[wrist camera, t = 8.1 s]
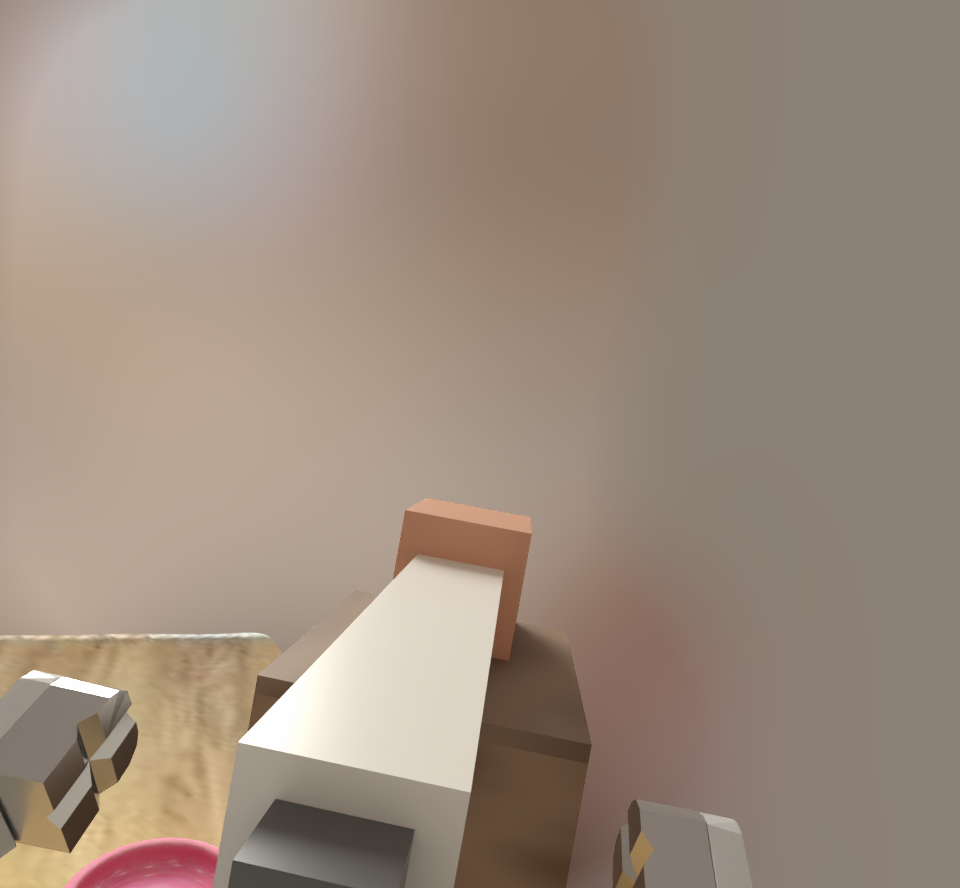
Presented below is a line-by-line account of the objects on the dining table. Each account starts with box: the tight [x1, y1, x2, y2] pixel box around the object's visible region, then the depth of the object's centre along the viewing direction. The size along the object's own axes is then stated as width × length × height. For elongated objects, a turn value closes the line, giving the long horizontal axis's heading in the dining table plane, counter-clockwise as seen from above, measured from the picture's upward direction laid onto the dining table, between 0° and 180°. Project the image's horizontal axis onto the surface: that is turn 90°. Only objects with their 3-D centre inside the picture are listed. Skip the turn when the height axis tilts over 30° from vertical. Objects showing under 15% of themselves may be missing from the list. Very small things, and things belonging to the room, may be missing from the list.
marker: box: [213, 498, 532, 888], centre depth 17 cm, size 4×20×4 cm, turn 176°
